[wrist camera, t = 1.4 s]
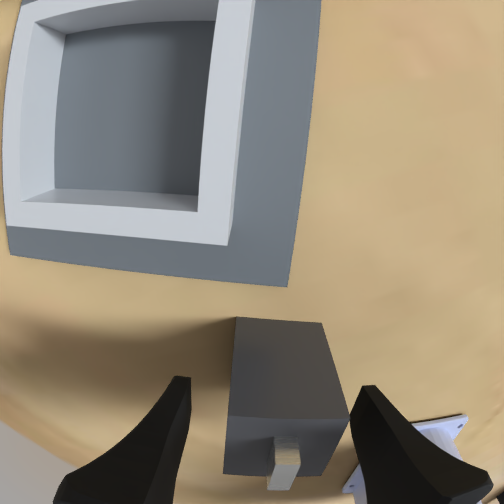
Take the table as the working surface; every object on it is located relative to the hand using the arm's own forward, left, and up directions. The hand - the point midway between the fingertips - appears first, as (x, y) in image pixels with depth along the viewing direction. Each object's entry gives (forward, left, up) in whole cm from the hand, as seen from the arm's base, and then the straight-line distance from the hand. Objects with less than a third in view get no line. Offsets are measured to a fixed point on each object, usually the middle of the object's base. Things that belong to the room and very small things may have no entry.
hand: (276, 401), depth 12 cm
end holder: (+11, +7, -3) cm, 13 cm away
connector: (0, 0, -3) cm, 3 cm away
